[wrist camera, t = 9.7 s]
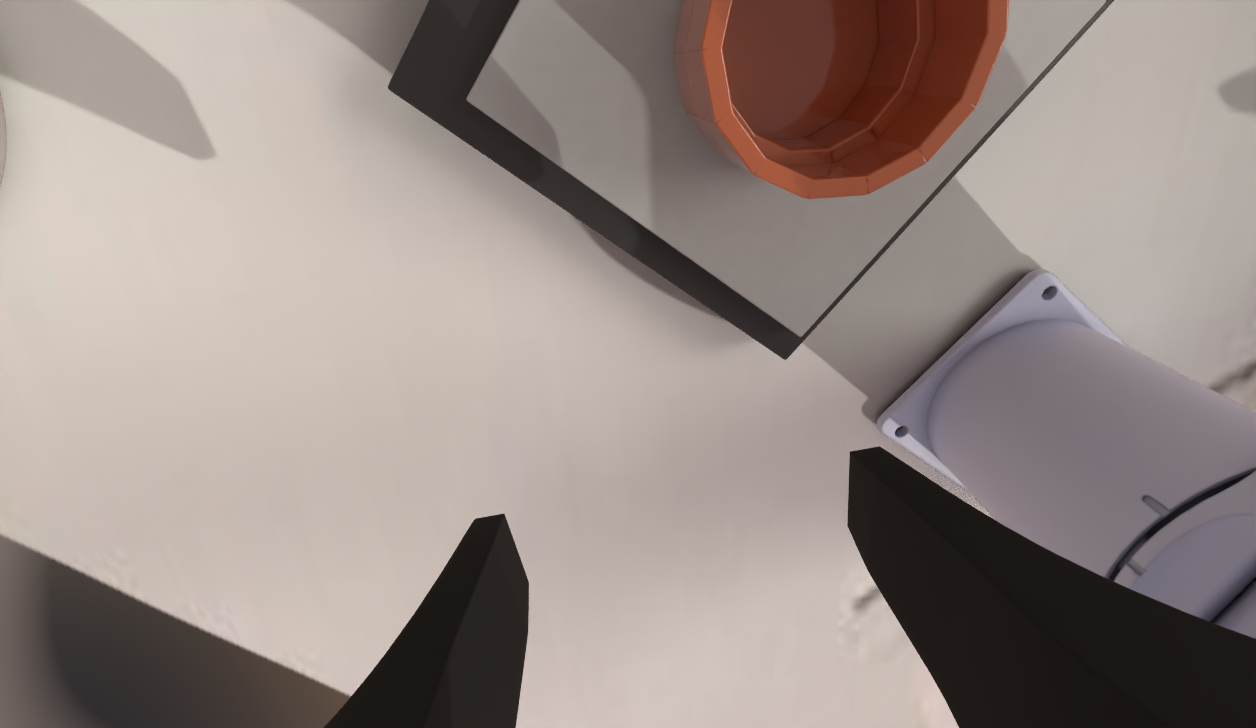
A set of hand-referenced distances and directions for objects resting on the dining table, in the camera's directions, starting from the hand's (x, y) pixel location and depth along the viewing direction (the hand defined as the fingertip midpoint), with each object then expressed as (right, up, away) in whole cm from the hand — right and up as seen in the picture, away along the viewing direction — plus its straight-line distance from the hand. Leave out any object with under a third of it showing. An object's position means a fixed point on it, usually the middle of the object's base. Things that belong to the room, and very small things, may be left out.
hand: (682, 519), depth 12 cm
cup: (+3, +11, +2) cm, 11 cm away
